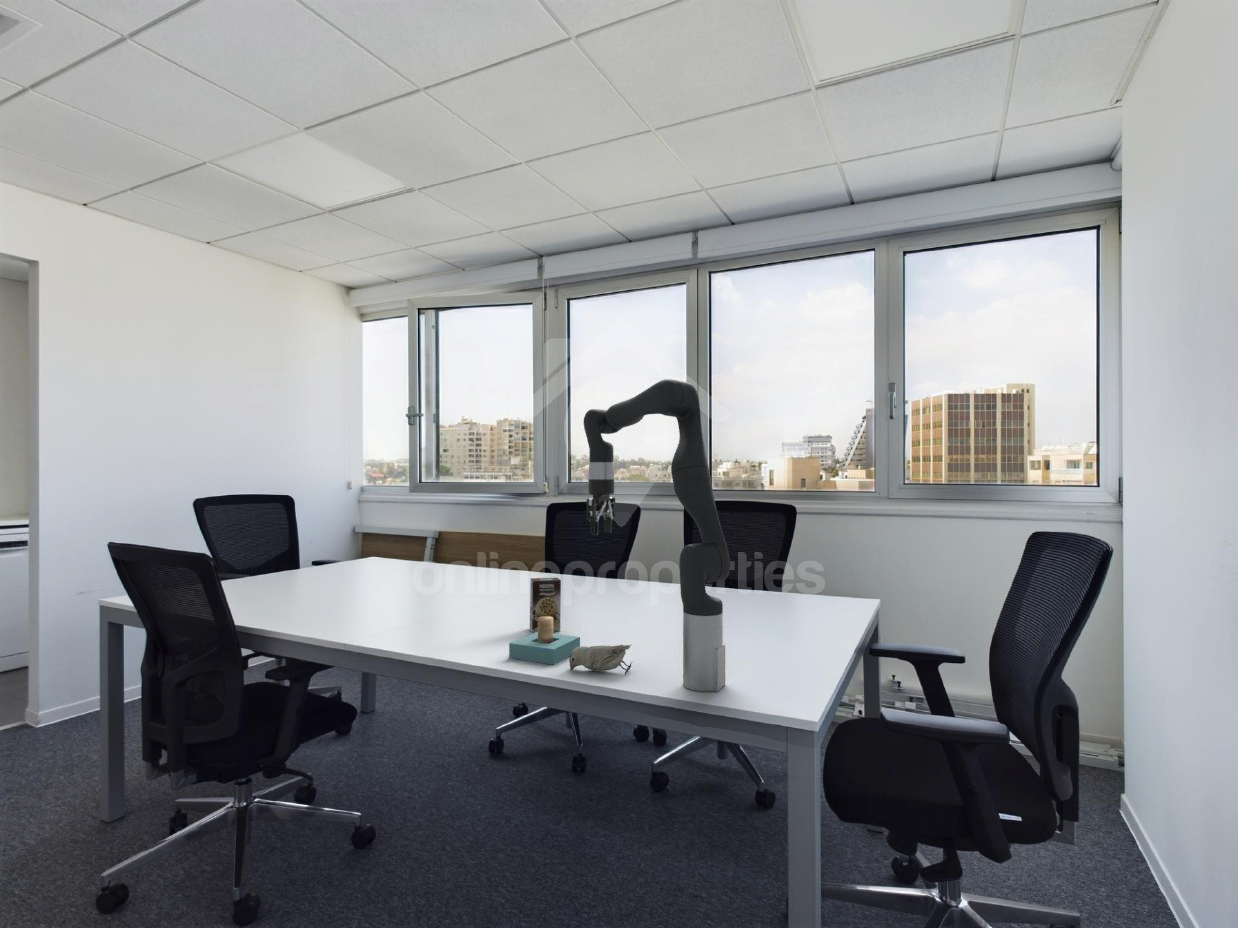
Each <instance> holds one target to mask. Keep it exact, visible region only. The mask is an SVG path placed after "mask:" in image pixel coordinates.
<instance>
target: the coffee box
mask: <svg viewBox="0 0 1238 928" xmlns="http://www.w3.org/2000/svg"><path fill="white" fill-rule="evenodd" d="M529 584H530V586H529V587H530V589H529V590H530V591H529V592H530V593H529V595H530V596H529V629H530V631H531V633H535V632H538V618H539V617H543V616H550V617H553V632H561V614H562V613H561V608H562V607H561V606H562V605H561V601H562V600H561V599H562V597H561V594H562V592H561V591H562V588H561V587H562V579H560V578H559V577H536V578H535V577H532V578H530V583H529Z"/></svg>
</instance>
